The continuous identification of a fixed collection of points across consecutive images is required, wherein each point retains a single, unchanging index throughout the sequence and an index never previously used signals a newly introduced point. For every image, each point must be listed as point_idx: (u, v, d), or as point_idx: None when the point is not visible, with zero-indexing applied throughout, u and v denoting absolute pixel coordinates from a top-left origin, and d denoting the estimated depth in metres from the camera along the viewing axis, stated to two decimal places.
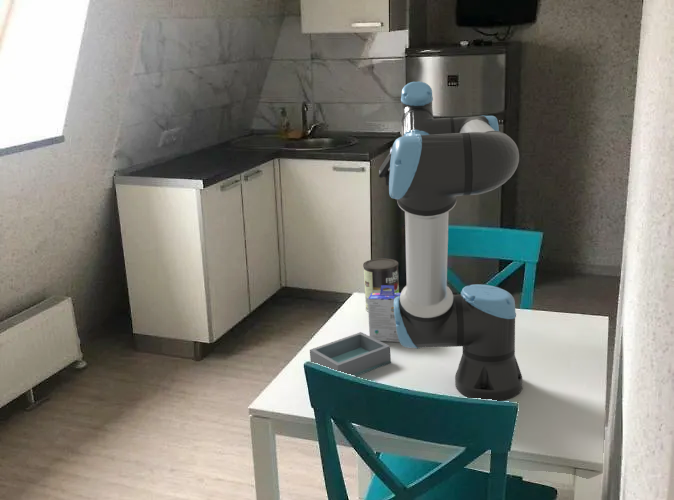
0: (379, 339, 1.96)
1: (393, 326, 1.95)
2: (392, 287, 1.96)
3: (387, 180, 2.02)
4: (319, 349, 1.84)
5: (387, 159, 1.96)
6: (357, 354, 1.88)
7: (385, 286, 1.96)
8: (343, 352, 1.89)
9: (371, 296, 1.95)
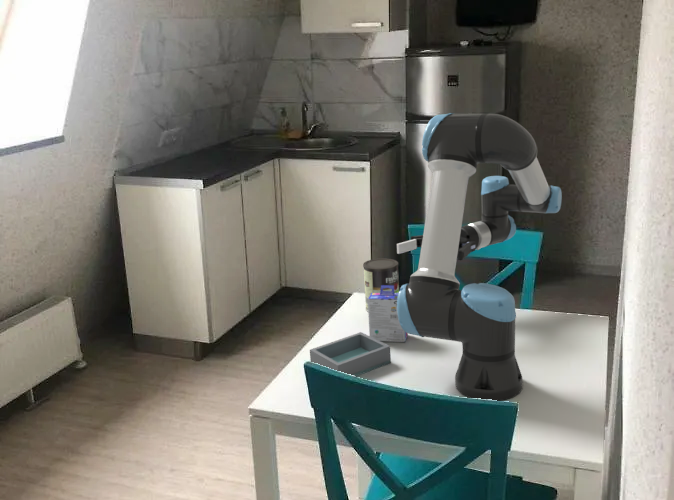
0: (379, 339, 1.96)
1: (393, 326, 1.95)
2: (392, 287, 1.96)
3: None
4: (319, 349, 1.84)
5: None
6: (357, 354, 1.88)
7: (385, 286, 1.96)
8: (343, 352, 1.89)
9: (371, 296, 1.95)
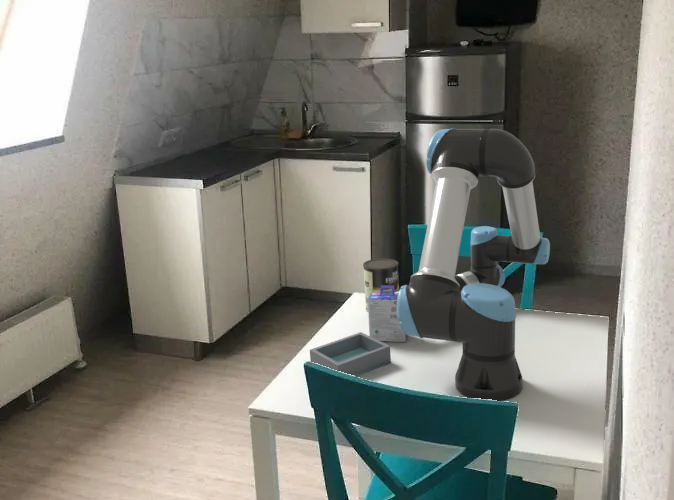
0: (379, 338, 1.96)
1: (393, 326, 1.95)
2: (392, 287, 1.96)
3: None
4: (319, 349, 1.84)
5: None
6: (357, 354, 1.88)
7: (385, 286, 1.96)
8: (343, 352, 1.89)
9: (371, 296, 1.95)
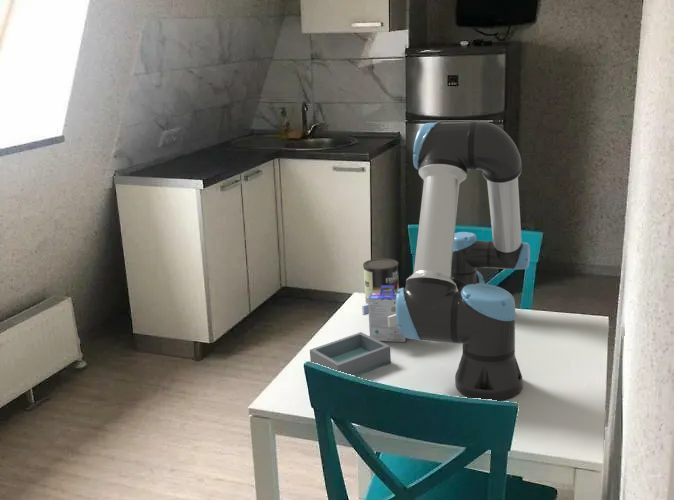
0: (379, 338, 1.96)
1: (394, 326, 1.95)
2: (392, 287, 1.95)
3: None
4: (319, 349, 1.84)
5: None
6: (357, 354, 1.88)
7: (385, 286, 1.96)
8: (343, 352, 1.89)
9: (371, 296, 1.95)
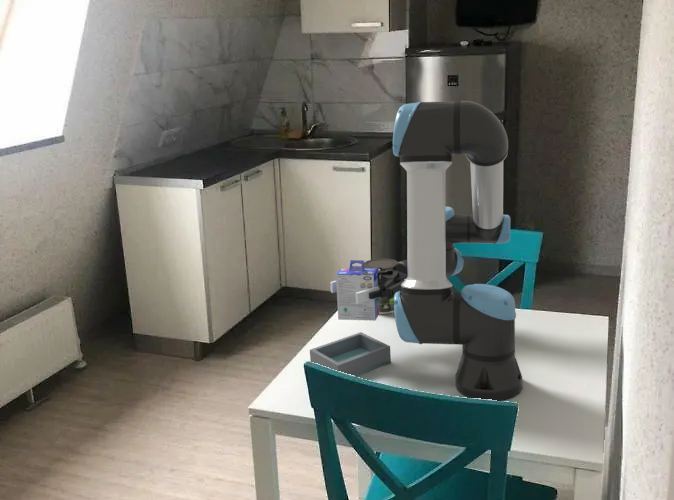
0: (348, 317, 1.84)
1: (363, 304, 1.83)
2: (362, 262, 1.83)
3: None
4: (319, 349, 1.84)
5: None
6: (357, 354, 1.88)
7: (355, 261, 1.84)
8: (343, 352, 1.89)
9: (339, 271, 1.83)
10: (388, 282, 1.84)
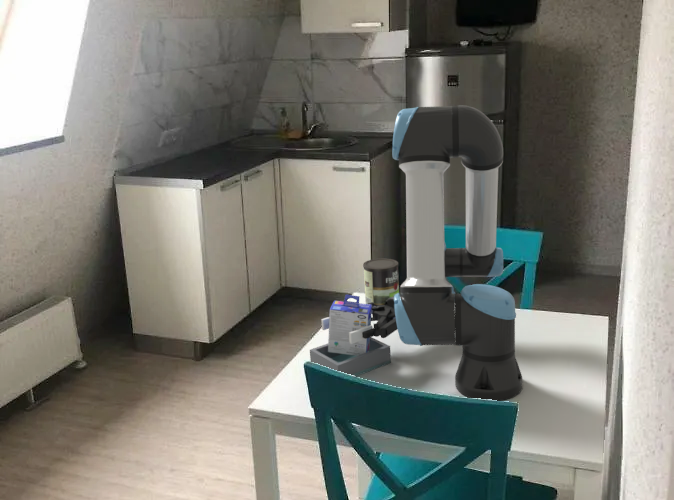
0: (338, 351, 1.82)
1: None
2: (357, 298, 1.79)
3: None
4: (319, 349, 1.84)
5: None
6: None
7: (350, 296, 1.79)
8: None
9: (333, 306, 1.79)
10: (381, 320, 1.81)
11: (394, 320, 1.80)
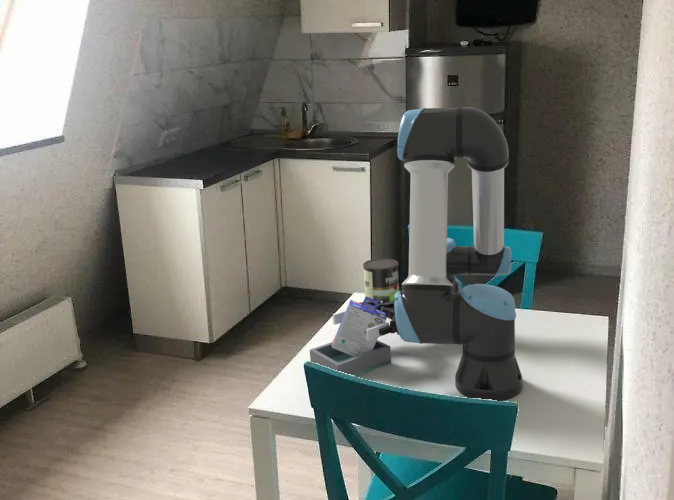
0: (342, 349, 1.82)
1: (363, 342, 1.81)
2: (376, 302, 1.83)
3: None
4: (319, 349, 1.84)
5: None
6: None
7: (369, 299, 1.83)
8: (343, 352, 1.89)
9: (353, 303, 1.81)
10: (395, 317, 1.83)
11: None
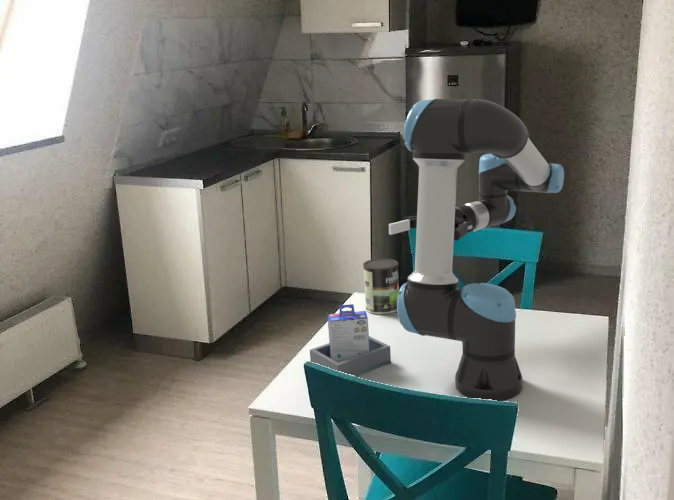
0: None
1: (357, 348, 1.81)
2: (352, 306, 1.82)
3: None
4: (319, 349, 1.84)
5: None
6: None
7: (344, 306, 1.82)
8: None
9: (331, 318, 1.80)
10: None
11: (463, 225, 1.86)
